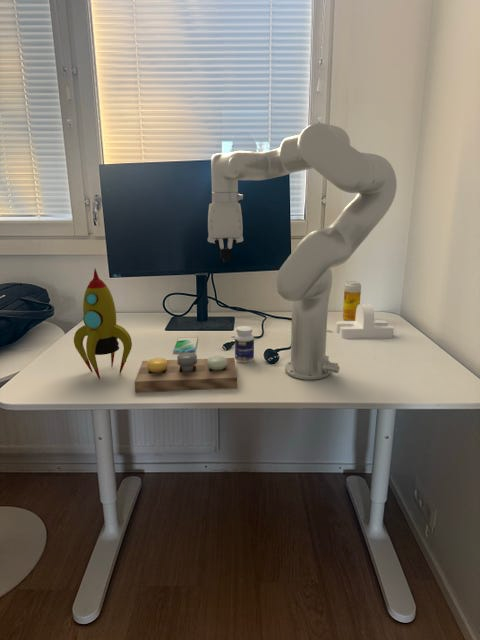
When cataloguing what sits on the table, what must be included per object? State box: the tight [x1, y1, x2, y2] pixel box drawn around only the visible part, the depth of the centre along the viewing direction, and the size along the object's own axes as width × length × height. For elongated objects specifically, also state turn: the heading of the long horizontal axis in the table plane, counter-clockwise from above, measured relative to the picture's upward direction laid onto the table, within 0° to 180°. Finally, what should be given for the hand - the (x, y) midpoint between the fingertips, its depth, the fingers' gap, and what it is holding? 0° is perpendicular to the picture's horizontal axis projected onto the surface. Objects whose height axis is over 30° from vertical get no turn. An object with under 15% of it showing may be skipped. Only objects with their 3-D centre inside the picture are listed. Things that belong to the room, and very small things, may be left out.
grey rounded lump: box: [176, 353, 198, 372], centre depth 118 cm, size 5×5×5 cm
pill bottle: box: [234, 325, 255, 363], centre depth 131 cm, size 6×6×10 cm
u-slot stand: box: [335, 303, 395, 340], centre depth 154 cm, size 10×18×11 cm, turn 92°
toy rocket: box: [73, 268, 133, 380], centre depth 120 cm, size 12×12×30 cm
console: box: [134, 357, 238, 393], centre depth 119 cm, size 26×14×3 cm, turn 94°
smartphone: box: [172, 337, 199, 355], centre depth 145 cm, size 7×1×15 cm
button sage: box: [207, 355, 227, 371], centre depth 119 cm, size 5×5×5 cm
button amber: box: [147, 357, 168, 373], centre depth 118 cm, size 5×5×5 cm
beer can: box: [342, 280, 362, 321], centre depth 169 cm, size 6×6×15 cm
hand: (225, 261), depth 133 cm, fingers closed
